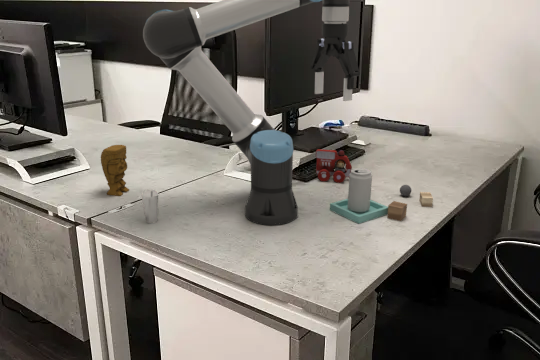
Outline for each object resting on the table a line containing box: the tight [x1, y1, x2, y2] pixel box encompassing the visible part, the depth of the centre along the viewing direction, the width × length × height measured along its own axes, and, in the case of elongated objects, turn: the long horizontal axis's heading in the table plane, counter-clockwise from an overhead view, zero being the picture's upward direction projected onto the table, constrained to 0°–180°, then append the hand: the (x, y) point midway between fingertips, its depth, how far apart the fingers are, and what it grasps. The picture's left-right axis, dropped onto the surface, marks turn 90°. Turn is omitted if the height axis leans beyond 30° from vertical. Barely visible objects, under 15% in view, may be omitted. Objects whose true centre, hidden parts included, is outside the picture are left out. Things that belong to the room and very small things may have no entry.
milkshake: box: [141, 188, 159, 224], centre depth 143 cm, size 5×5×10 cm
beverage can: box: [347, 167, 373, 213], centre depth 150 cm, size 6×6×12 cm
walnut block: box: [386, 200, 408, 222], centre depth 148 cm, size 4×4×4 cm
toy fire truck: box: [315, 148, 353, 184], centre depth 177 cm, size 7×12×10 cm, turn 76°
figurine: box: [100, 144, 130, 197], centre depth 164 cm, size 7×7×15 cm
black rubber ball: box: [399, 184, 412, 197], centre depth 163 cm, size 4×4×4 cm
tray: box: [329, 198, 388, 225], centre depth 152 cm, size 12×12×2 cm
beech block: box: [418, 191, 434, 208], centre depth 157 cm, size 5×3×3 cm, turn 173°
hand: (332, 97), depth 156 cm, fingers open, 13 cm apart
